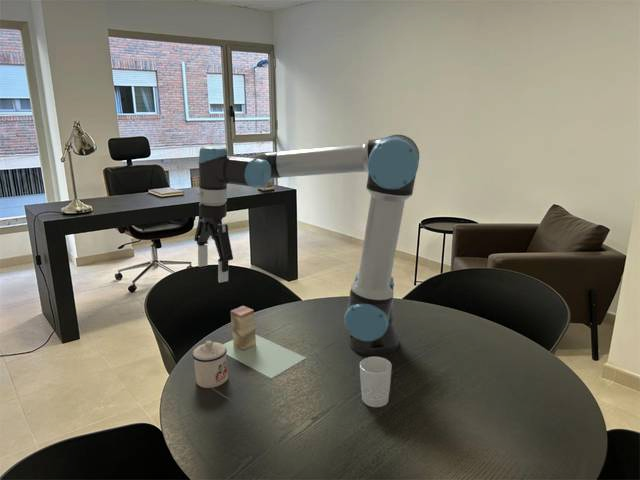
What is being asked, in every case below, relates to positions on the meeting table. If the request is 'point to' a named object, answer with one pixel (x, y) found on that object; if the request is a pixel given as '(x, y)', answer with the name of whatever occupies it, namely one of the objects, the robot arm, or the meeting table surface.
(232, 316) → the oak block
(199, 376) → the teacup with lid
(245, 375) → the meeting table surface
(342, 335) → the meeting table surface
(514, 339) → the meeting table surface
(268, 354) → the rubber mat
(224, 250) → the robot arm
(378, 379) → the white cup
